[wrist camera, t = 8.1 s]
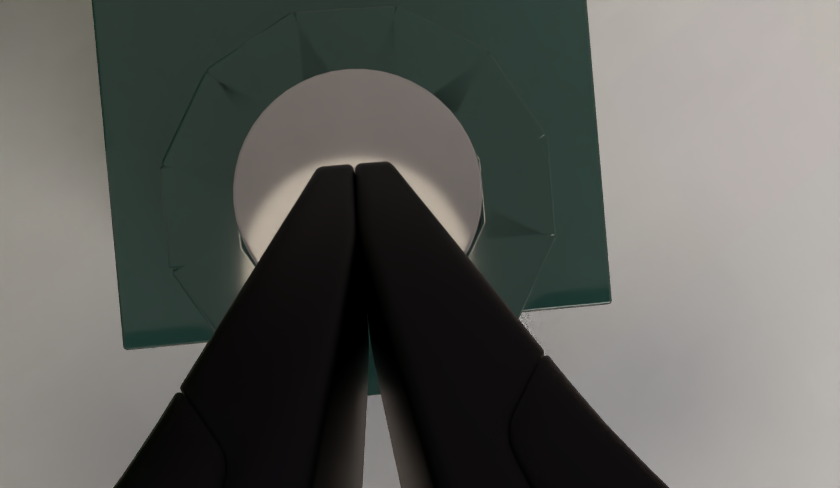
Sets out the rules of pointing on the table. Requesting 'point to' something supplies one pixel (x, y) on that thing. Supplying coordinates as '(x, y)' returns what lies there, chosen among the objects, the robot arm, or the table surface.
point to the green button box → (316, 54)
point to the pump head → (355, 150)
